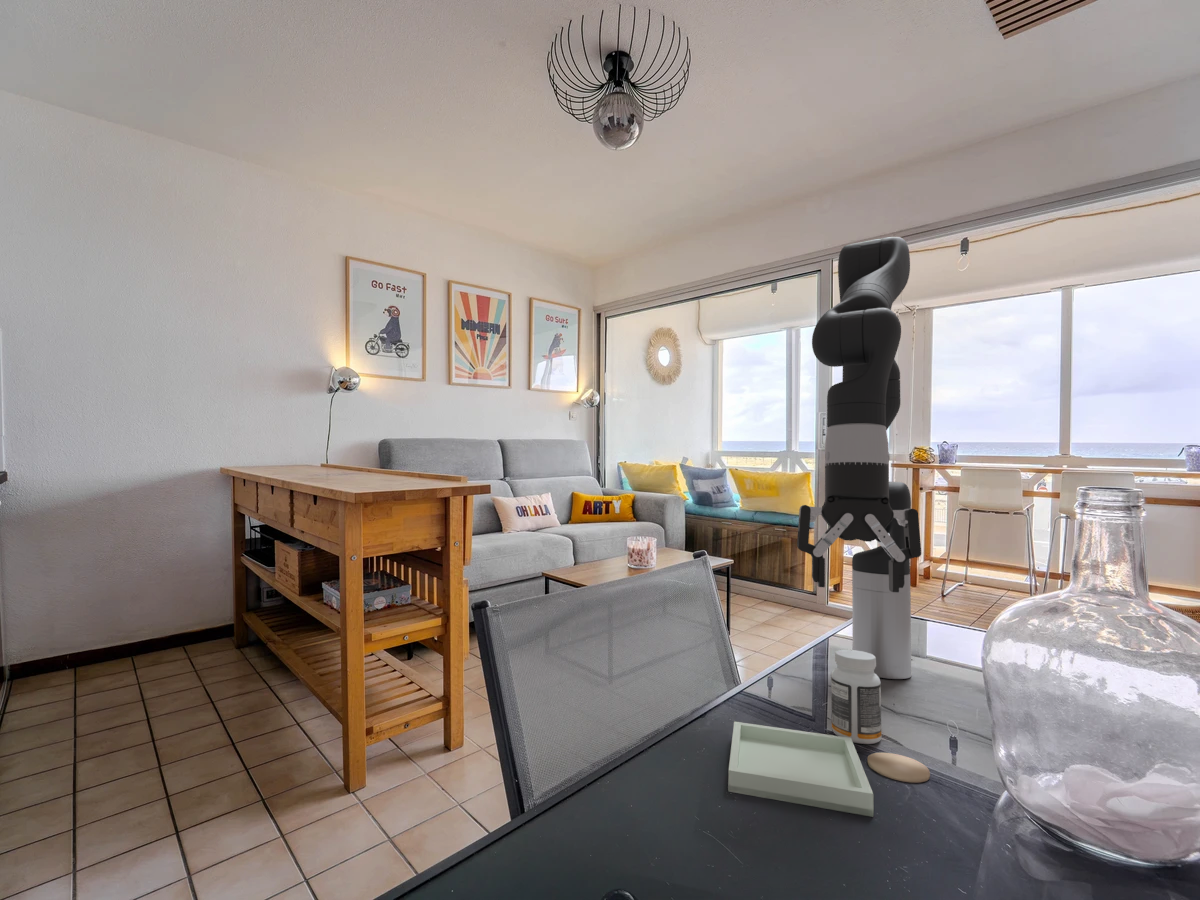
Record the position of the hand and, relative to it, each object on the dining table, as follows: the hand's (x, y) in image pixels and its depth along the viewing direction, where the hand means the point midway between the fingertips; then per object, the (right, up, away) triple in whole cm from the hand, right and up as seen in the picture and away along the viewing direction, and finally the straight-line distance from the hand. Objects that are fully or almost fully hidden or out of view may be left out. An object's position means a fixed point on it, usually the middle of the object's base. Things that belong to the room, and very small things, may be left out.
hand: (856, 589), depth 71 cm
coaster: (0, -17, -10) cm, 20 cm away
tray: (-12, -17, -12) cm, 24 cm away
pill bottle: (-1, -18, -2) cm, 18 cm away
